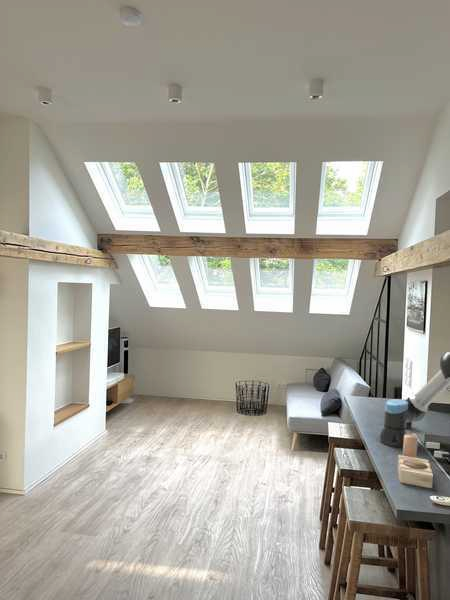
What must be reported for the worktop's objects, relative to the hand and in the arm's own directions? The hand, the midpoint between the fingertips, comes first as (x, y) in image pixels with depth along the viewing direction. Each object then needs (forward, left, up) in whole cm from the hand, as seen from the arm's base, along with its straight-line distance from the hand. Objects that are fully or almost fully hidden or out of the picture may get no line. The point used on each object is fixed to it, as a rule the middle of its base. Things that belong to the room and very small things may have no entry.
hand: (430, 449), depth 230 cm
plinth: (+24, +9, -7) cm, 27 cm away
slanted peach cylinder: (+7, -6, -7) cm, 12 cm away
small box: (-43, -47, -7) cm, 64 cm away
